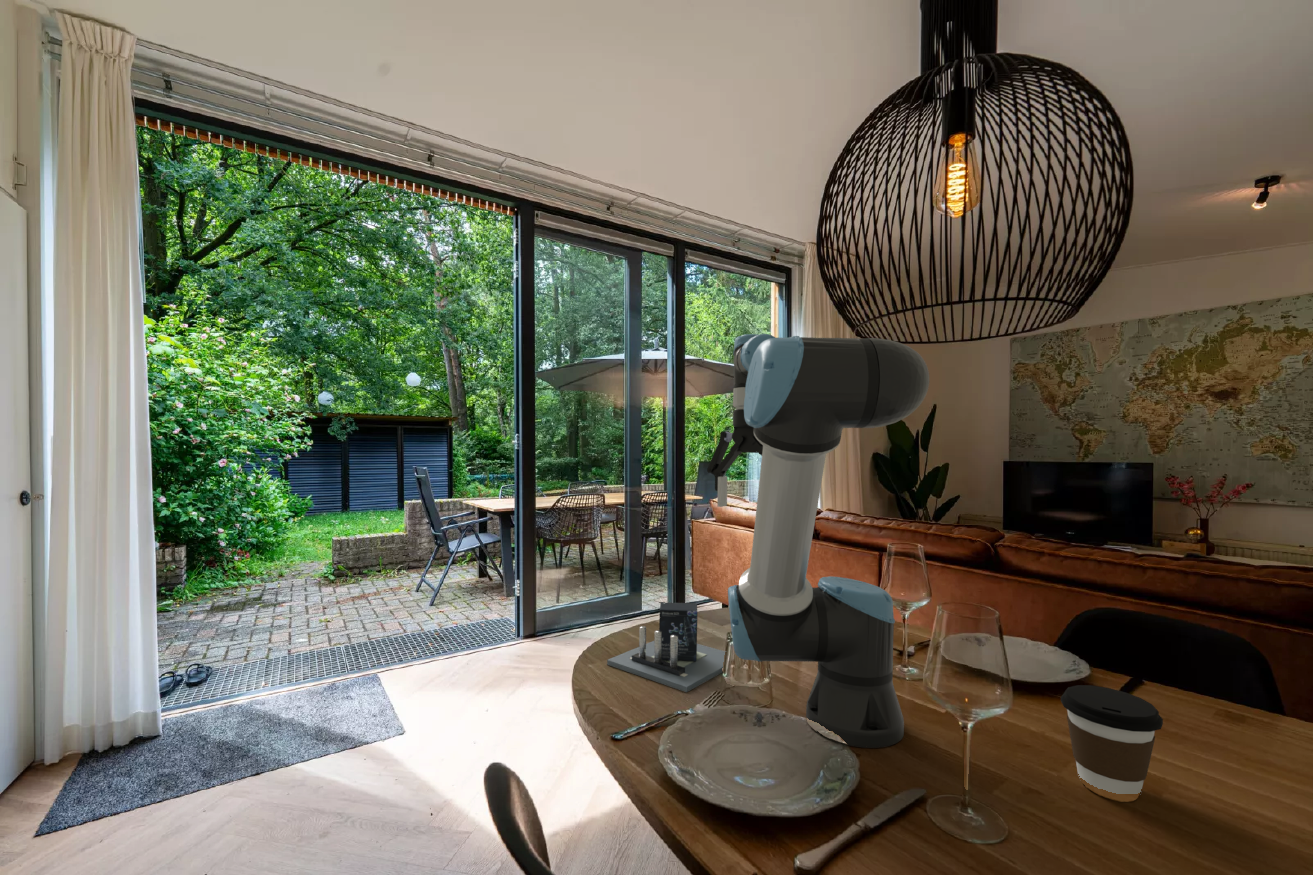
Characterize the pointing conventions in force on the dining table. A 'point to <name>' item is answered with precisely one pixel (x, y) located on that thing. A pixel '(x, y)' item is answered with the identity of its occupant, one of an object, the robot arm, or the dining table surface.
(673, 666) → the header pins
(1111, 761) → the coffee cup
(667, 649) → the box
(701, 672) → the slate board
